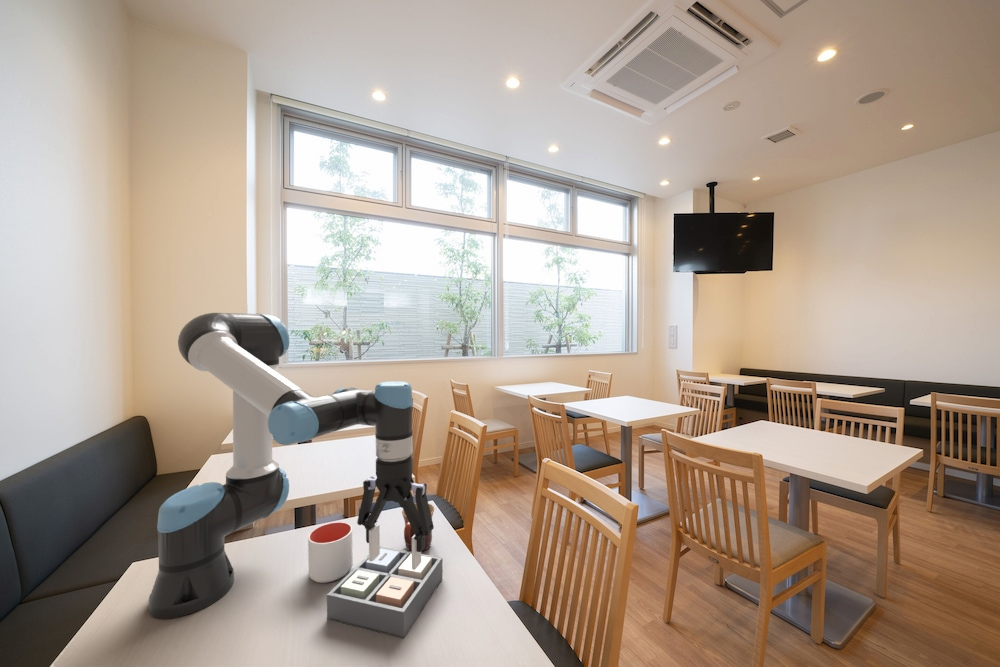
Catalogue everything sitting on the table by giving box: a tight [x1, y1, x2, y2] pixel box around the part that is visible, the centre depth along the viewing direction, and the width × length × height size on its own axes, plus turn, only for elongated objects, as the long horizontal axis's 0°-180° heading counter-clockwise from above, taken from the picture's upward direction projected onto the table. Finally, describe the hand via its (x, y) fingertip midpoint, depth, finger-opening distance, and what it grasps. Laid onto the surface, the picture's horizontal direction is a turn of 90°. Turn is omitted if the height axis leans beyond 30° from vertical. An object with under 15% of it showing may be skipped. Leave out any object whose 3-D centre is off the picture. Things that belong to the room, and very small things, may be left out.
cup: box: [307, 521, 353, 584], centre depth 93 cm, size 10×10×10 cm
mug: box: [401, 502, 435, 552], centre depth 102 cm, size 12×9×10 cm
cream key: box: [398, 554, 432, 580], centre depth 87 cm, size 6×6×4 cm
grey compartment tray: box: [326, 546, 443, 639], centre depth 84 cm, size 18×18×5 cm
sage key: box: [341, 570, 379, 600], centre depth 81 cm, size 6×6×4 cm
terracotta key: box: [376, 577, 414, 608], centre depth 79 cm, size 6×6×4 cm
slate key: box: [366, 548, 400, 573], centre depth 89 cm, size 6×6×4 cm
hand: (395, 561), depth 79 cm, fingers open, 9 cm apart
